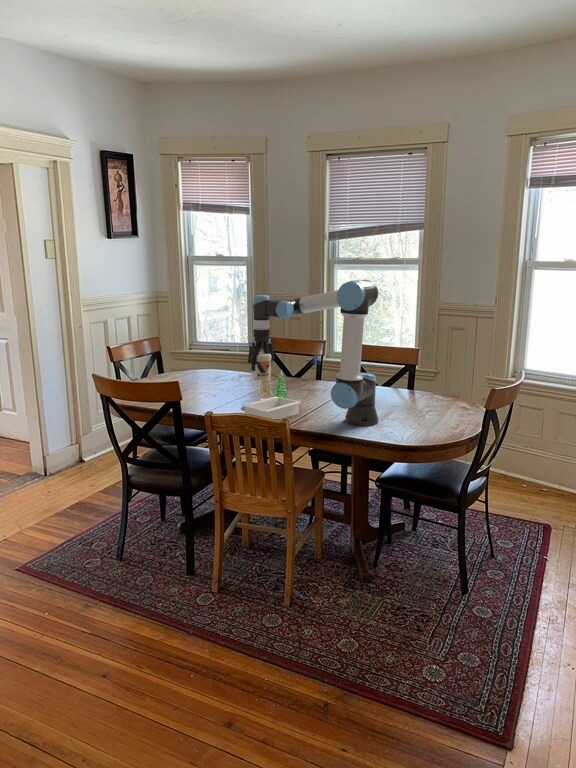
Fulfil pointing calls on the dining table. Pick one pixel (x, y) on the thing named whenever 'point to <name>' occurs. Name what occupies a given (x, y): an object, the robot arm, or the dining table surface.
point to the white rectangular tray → (273, 408)
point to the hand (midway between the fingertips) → (261, 376)
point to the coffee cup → (263, 366)
